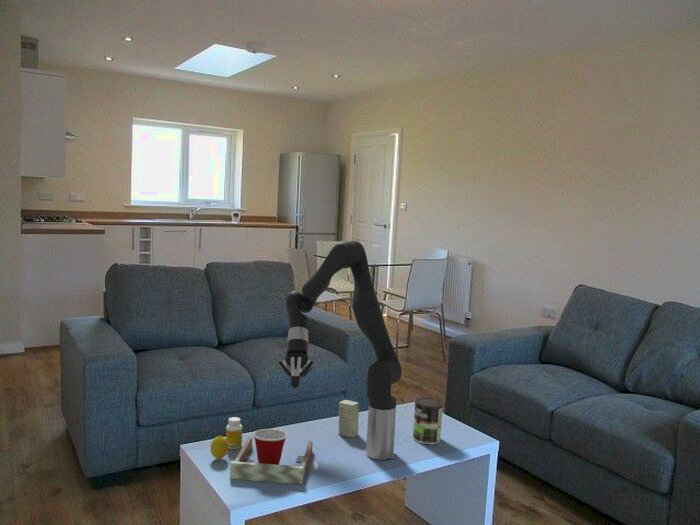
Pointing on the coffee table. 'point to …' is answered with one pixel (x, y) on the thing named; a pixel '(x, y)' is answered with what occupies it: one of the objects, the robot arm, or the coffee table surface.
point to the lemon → (219, 447)
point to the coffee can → (427, 420)
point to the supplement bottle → (234, 433)
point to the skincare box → (348, 418)
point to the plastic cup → (269, 445)
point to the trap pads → (299, 460)
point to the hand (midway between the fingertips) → (295, 387)
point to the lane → (268, 468)
